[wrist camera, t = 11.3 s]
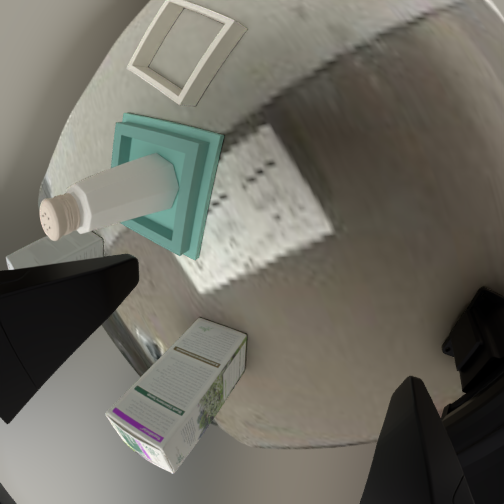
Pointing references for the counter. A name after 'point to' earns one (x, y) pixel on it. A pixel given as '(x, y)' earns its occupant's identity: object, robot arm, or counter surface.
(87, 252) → the skincare box
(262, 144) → the counter surface
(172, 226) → the teal square tray
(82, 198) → the pepper shaker
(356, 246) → the counter surface
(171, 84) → the white square tray
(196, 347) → the syrup box
